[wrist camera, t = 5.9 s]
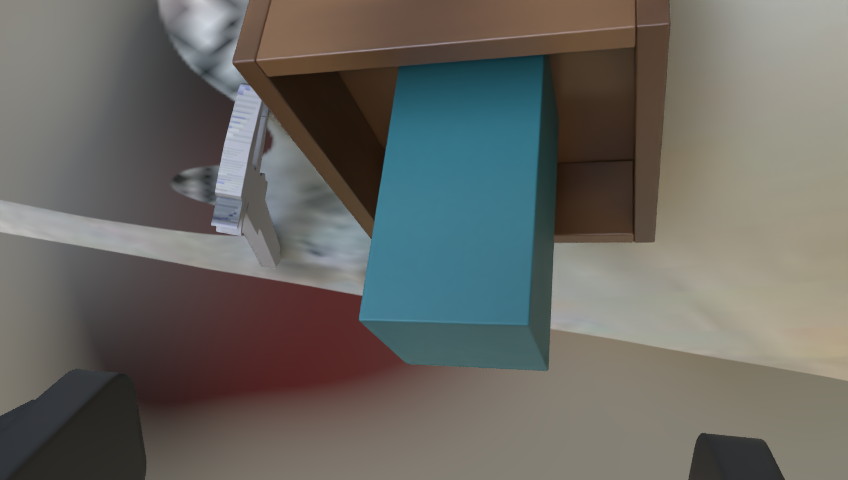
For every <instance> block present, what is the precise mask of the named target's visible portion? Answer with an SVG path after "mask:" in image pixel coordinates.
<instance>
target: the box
mask: <svg viewBox="0 0 848 480" xmlns="http://www.w3.org/2000/svg"><path fill="white" fill-rule="evenodd" d="M669 36H670V0H249V3H248V7H247V11H246V14H245V18H244V21H243V25H242V29H241V32H240V36H239V39H238V43H237V46H236V50H235V54H234V57H233V65H234V66H235V67H236V68H237V70H238V71H239V72H240V74H241V75H242V76H243V77H244V79H245V80H246V81H247V82H248V84H249V85H250V86H251V87H252V89H253V90H254V91H255V92H256V94H257V95H258V96H259V98H260V99H261V100H262V101H263V103H264V104H265V105H266V106H267V108H268V109H269V110H270V111H271V113H272V114H273V115H274V117H275V118H276V119H277V120H278V122H279V123H280V124H281V125H282V127H283V128H284V129H285V130H286V132H287V133H288V134H289V135H290V137H291V138H292V139H293V141H294V142H295V143H296V144H297V146H298V147H299V148H300V149H301V151H302V152H303V153H304V154H305V156H306V157H307V158H308V160H309V161H310V162H311V163H312V165H313V166H314V167H315V168H316V170H317V171H318V172H319V173H320V175H321V176H322V177H323V179H324V180H325V181H326V182H327V184H328V185H329V186H330V187H331V189H332V190H333V191H334V192H335V194H336V195H337V196H338V197H339V199H340V200H341V201H342V203H343V204H344V205H345V206H346V208H347V209H348V210H349V211H350V213H351V214H352V215H353V216H354V218H355V219H356V220H357V222H358V223H359V224H360V225H361V227H362V228H363V229H364V230H365V232H366V233H367V234H368V235H369V237H370V238H371V239H372V233H373V227H374V221H375V215H376V208H377V202H378V196H379V189H380V183H381V177H382V171H383V164H384V158H385V152H386V145H387V139H388V133H389V126H390V120H391V114H392V108H393V101H394V95H395V89H396V82H397V76H398V70H399V66H408V65H420V64H433V63H445V62H458V61H470V60H482V59H495V58H507V57H519V56H532V55H544V54H548V55H549V61H550V67H551V73H552V80H553V86H554V92H555V98H556V104H557V111H558V117H559V134H558V158H557V181H556V204H555V227H554V243H585V242H654V241H655V230H656V216H657V202H658V188H659V174H660V160H661V146H662V133H663V119H664V105H665V91H666V77H667V63H668V49H669Z"/></svg>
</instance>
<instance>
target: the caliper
mask: <svg viewBox="0 0 848 480" xmlns="http://www.w3.org/2000/svg"><path fill="white" fill-rule="evenodd" d="M268 114H269V109H268V108H267V106H266V105H265V104H264V103H263V101H262V100H261V99H260V98H259V96H258V95H257V94H256V92H255V91H254V90H253V89H252V87H251V86H250V85H249V84H246V83H241V84H240V86H239V90H238V94H237V97H236V101H235V105H234V109H233V114H232V117H231V121H230V124H229V128H228V132H227V136H226V139H225V144H224V149H223V154H222V159H221V164H220V169H219V174H218V179H217V184H216V189H215V193H216V196H217V200H216V205H215V210H214V214H213V219H212V224H211V225H214V226H217V228H216V231H217V232H222V233H228V234H234V235H240V236H241V233H244V234H245V236H246V238H247V240H248V242H249V244H250V246H251V248H252V250H253V251H254V253H255V255H256V257H257V259H258V261H259V262H260V264H261V266H263V267H270V268H276V269H277V265H278V264H279V263H280V256H279V254H280V249H281V247H280V244H279V241H278V238H277V235H276V232H275V229H274V226H273V223H272V220H271V217H270V214H269V211H268V208H267V205H266V201H265V195H266V190H267V184H268V183H267V181H266V180H265V174H264V173H260V167H261V160H262V154H263V146H264V141H265V134H266V127H267V121H268Z"/></svg>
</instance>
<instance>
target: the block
mask: <svg viewBox="0 0 848 480" xmlns="http://www.w3.org/2000/svg"><path fill="white" fill-rule="evenodd" d="M558 134H559V117H558V111H557V104H556V98H555V92H554V86H553V80H552V73H551V67H550V61H549V55H548V54H544V55H532V56H519V57H507V58H495V59H482V60H470V61H458V62H445V63H433V64H420V65H408V66H399V70H398V76H397V82H396V89H395V95H394V101H393V108H392V114H391V120H390V126H389V133H388V139H387V145H386V152H385V158H384V164H383V171H382V177H381V183H380V189H379V196H378V202H377V208H376V215H375V221H374V227H373V233H372V240H371V246H370V252H369V259H368V265H367V271H366V278H365V284H364V290H363V296H362V303H361V309H360V315H359V321H360V322H362V323H363V324H364V325H365V326H366V327H367V328H368V329H369V330H370V331H372V333H374V334H375V335H376V336H377V337H378V338H379V339H380V340H381V341H382V342H383V343H385V344H386V345H387V346H388V347H389V348H390V349H391V350H392V351H393V352H394V353H396V354H397V355H398V356H399V357H400V358H401V359H402V360H403V361H404V362H405V363H407V364H418V365H438V366H460V367H478V368H499V369H519V370H540V371H547V370H548V367H549V365H548V364H549V344H550V343H549V342H550V320H551V297H552V274H553V251H554V227H555V204H556V181H557V158H558Z"/></svg>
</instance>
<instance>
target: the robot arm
mask: <svg viewBox="0 0 848 480" xmlns="http://www.w3.org/2000/svg"><path fill="white" fill-rule="evenodd" d="M145 475H146V455H145V448H144V442H143V436H142V430H141V423H140V417H139V410H138V404H137V397H136V391H135V387H134V383H133V381H132V379H131V378H130V377H129V376H128V375H126V374H121V373H111V372H101V371H91V370H81V369H75V370H72V371H69V372H68V373H67V374H65V375H64V376H63V377H62V378H60V379H59V380H58V381H57V382H56V383H55V384H54V385H52V386H51V387H50V388H49V389H48V390H46V391H45V392H44V393H43V394H42V395H41V396H39V397H38V398H37V399H36V400H31V401H29V402H27V403H25V404H23V405H21V406H19V407H17V408H15V409H13V410H12V411H10V412H7V413H5V414H4V415H2V416H0V480H145ZM688 480H785V479H784V477H783V475H782V473H781V471H780V469H779V467H778V465H777V463H776V461H775V459H774V457H773V455H772V453H771V451H770V449H769V447H768V445H767V444H766V442H764V440H762V439H756V438H746V437H735V436H725V435H716V434H706V433H702V434H700V435H699V437H698V438H697V441H696V444H695V448H694V453H693V459H692V464H691V469H690V474H689V479H688Z"/></svg>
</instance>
